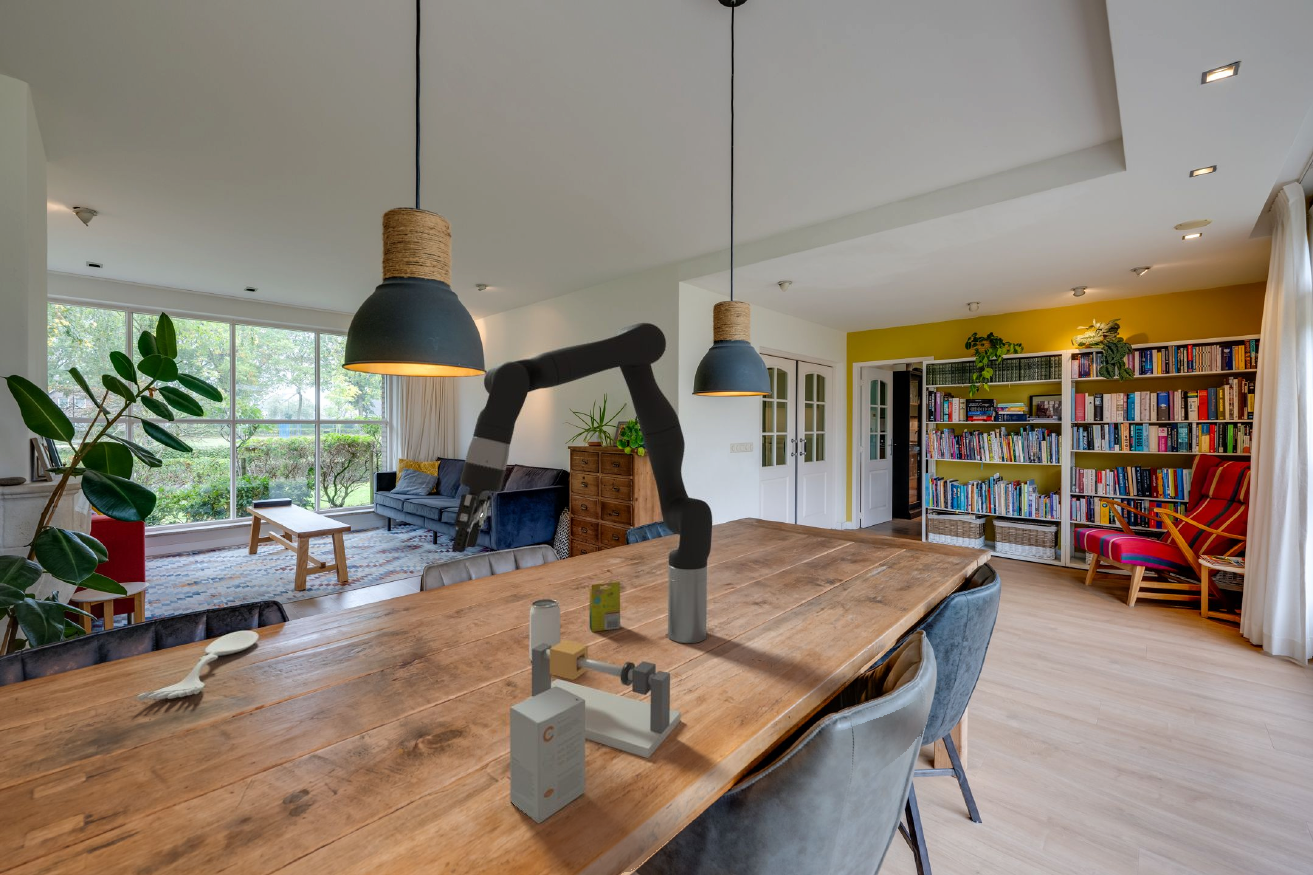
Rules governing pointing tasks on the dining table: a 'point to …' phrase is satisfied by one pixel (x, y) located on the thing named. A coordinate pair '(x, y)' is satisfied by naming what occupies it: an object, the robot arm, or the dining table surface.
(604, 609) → the crayon box
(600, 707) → the cable stand
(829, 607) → the dining table surface
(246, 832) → the dining table surface
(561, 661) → the sleeve
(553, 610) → the can
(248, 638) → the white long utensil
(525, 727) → the small box
